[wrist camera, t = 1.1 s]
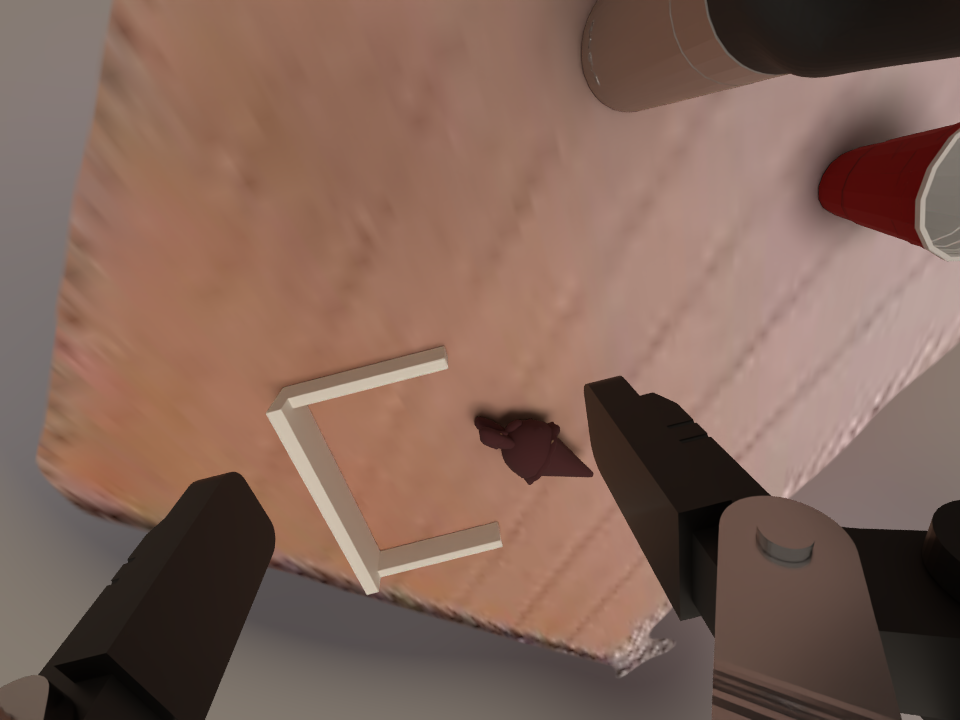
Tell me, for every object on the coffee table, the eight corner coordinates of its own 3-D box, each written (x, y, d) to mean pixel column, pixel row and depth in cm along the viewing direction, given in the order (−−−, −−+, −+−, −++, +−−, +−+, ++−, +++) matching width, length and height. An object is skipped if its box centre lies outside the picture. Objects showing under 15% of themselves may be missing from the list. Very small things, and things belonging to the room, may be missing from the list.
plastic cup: (927, 131, 39) (1115, 120, 28) (860, 247, 44) (1001, 275, 33) (833, 100, 37) (995, 75, 26) (772, 224, 42) (890, 246, 31)
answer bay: (444, 345, 44) (445, 367, 39) (499, 528, 56) (505, 560, 51) (283, 387, 44) (265, 413, 39) (372, 559, 56) (366, 594, 51)
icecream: (622, 459, 44) (497, 403, 41) (589, 519, 45) (465, 468, 42) (595, 436, 51) (487, 387, 48) (567, 488, 52) (459, 443, 49)
